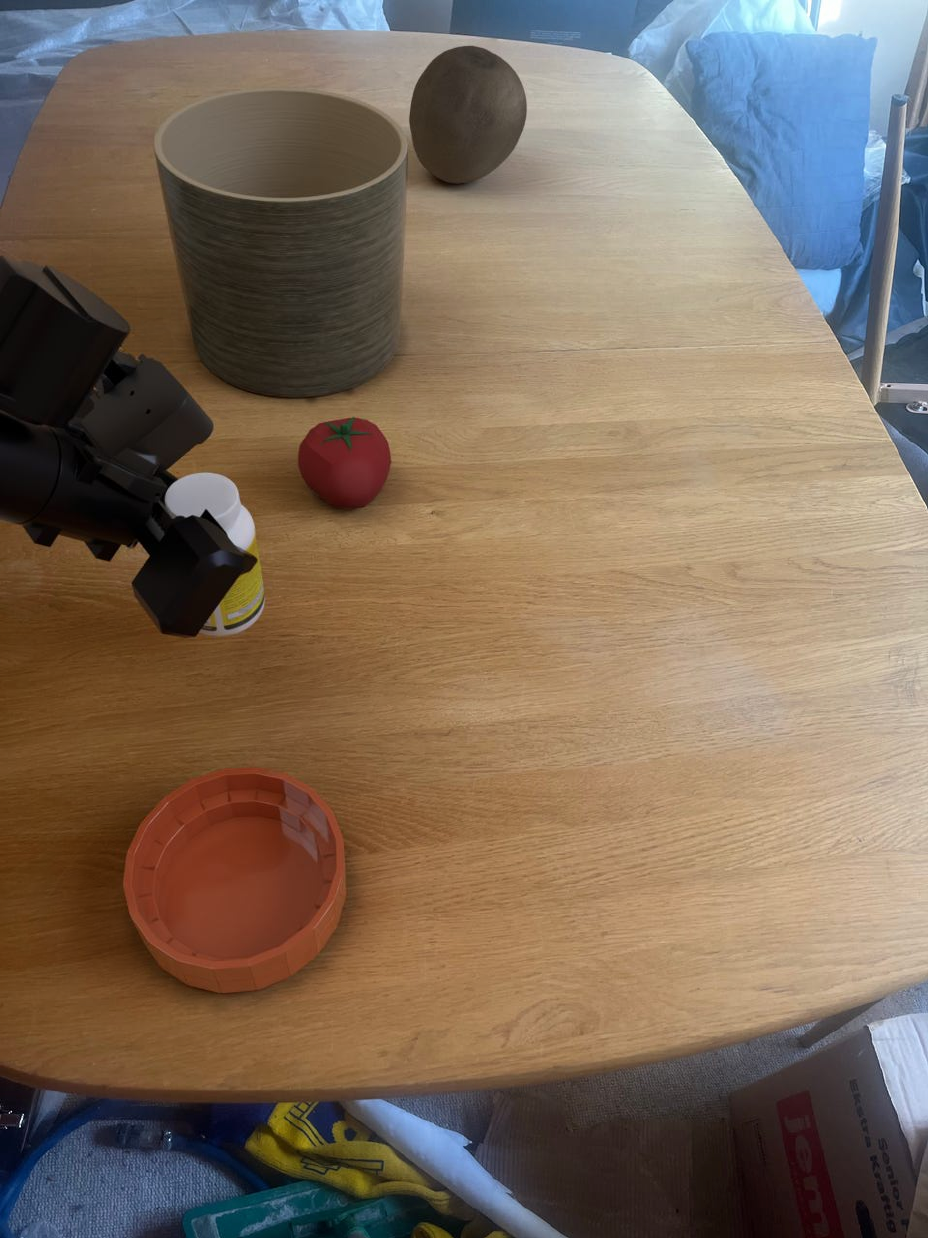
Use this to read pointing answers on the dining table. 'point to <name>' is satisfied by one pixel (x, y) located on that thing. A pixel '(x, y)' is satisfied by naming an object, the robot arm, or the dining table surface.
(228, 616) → the pill bottle
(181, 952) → the bowl
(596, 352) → the dining table surface
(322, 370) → the planter
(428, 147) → the egg shaped brown fruit
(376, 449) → the tomato
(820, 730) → the dining table surface
